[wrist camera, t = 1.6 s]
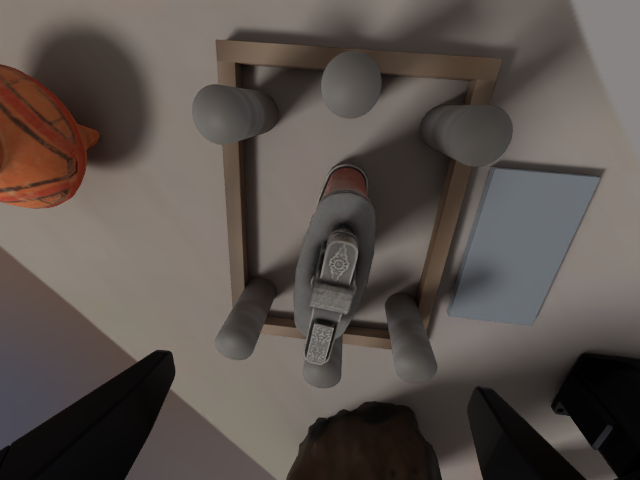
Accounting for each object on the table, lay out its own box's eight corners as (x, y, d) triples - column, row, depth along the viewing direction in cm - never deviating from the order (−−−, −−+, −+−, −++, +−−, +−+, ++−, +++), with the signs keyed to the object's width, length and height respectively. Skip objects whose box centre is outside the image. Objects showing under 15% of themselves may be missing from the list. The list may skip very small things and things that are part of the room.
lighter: (325, 157, 19) (302, 203, 10) (377, 168, 19) (401, 225, 10) (304, 264, 22) (272, 373, 13) (348, 274, 22) (346, 389, 13)
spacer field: (493, 61, 16) (567, 38, 11) (417, 343, 24) (436, 412, 19) (222, 43, 17) (162, 13, 12) (238, 322, 25) (207, 381, 20)
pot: (-30, 121, 20) (-184, 104, 13) (65, 57, 20) (-47, 8, 13) (60, 221, 22) (-35, 247, 16) (146, 166, 22) (86, 169, 15)
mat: (593, 175, 18) (600, 177, 17) (527, 320, 23) (531, 325, 22) (491, 166, 18) (495, 168, 18) (446, 311, 23) (449, 316, 22)
